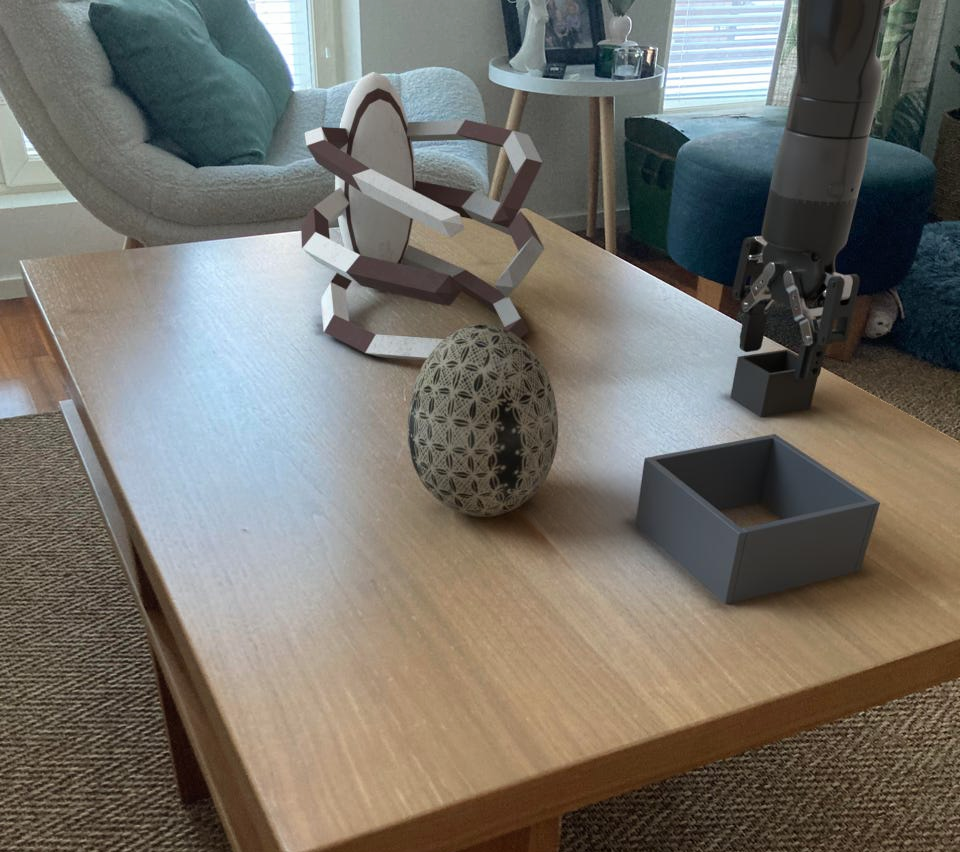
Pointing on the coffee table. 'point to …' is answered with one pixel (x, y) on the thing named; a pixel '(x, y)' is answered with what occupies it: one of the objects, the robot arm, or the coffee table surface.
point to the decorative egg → (482, 422)
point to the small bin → (770, 384)
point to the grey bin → (761, 548)
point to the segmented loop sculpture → (408, 216)
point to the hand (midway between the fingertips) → (775, 365)
